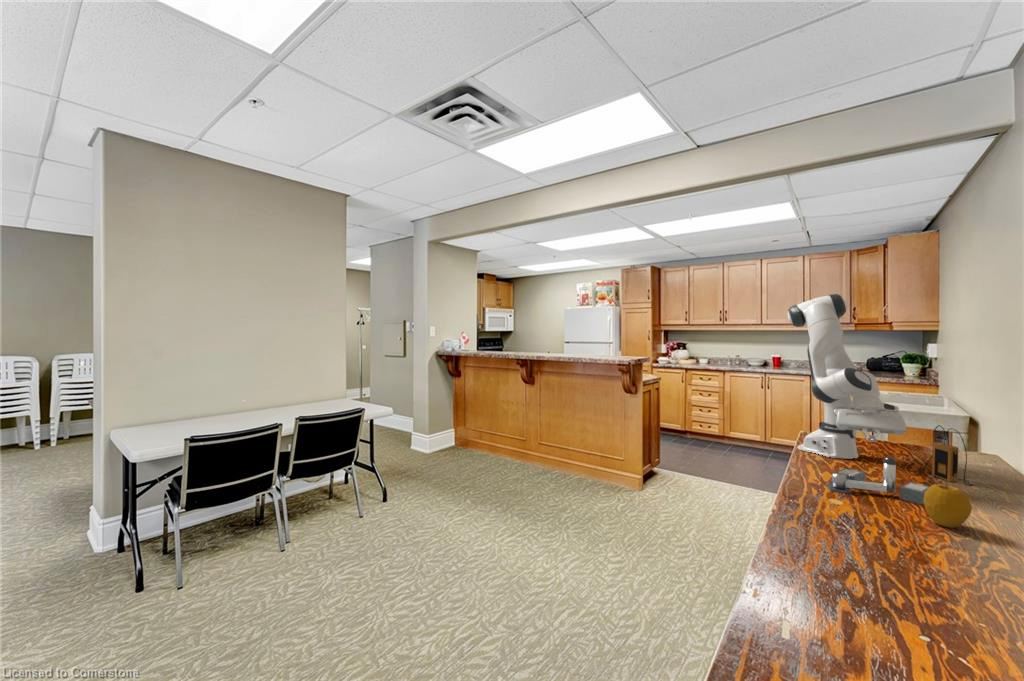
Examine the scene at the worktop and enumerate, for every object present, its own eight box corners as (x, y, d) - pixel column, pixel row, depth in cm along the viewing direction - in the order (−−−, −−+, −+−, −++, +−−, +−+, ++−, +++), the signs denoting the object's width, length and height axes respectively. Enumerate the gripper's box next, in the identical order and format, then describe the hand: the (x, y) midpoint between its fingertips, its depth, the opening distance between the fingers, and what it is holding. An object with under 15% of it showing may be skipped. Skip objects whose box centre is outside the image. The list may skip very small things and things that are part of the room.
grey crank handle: (833, 487, 150) (834, 453, 150) (830, 483, 154) (831, 450, 153) (897, 494, 143) (898, 459, 143) (892, 490, 147) (893, 455, 147)
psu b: (834, 483, 157) (834, 471, 157) (846, 478, 163) (846, 467, 163) (854, 488, 152) (854, 476, 152) (865, 483, 158) (865, 471, 157)
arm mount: (830, 491, 149) (831, 488, 149) (825, 485, 155) (825, 483, 155) (852, 493, 147) (852, 491, 147) (846, 487, 153) (846, 485, 153)
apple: (971, 525, 123) (973, 485, 123) (970, 536, 117) (971, 493, 117) (924, 514, 131) (926, 476, 130) (920, 524, 124) (922, 483, 124)
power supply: (899, 499, 143) (899, 486, 143) (909, 493, 148) (910, 481, 148) (923, 505, 138) (924, 492, 137) (933, 499, 143) (933, 486, 143)
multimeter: (988, 486, 155) (990, 431, 154) (960, 486, 155) (961, 431, 155) (947, 472, 170) (949, 422, 169) (922, 472, 170) (923, 422, 169)
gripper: (835, 401, 168) (837, 432, 161) (903, 407, 158) (910, 440, 150) (832, 411, 173) (835, 441, 165) (899, 416, 162) (906, 449, 154)
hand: (872, 440), depth 157 cm, fingers closed
